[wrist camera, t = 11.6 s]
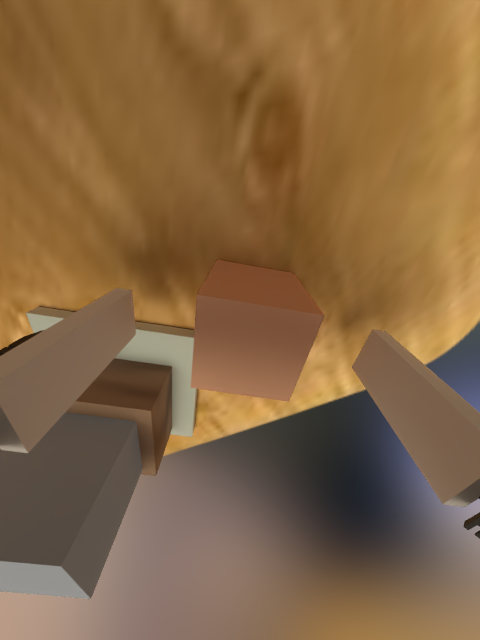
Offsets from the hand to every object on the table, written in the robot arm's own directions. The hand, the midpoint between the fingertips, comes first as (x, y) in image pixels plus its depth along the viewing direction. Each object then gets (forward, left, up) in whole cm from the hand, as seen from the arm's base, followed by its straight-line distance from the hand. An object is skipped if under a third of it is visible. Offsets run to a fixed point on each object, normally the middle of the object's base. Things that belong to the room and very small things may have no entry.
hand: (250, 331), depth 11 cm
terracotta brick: (0, 0, -4) cm, 4 cm away
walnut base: (+10, -9, -2) cm, 14 cm away
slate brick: (+10, -9, +2) cm, 14 cm away
